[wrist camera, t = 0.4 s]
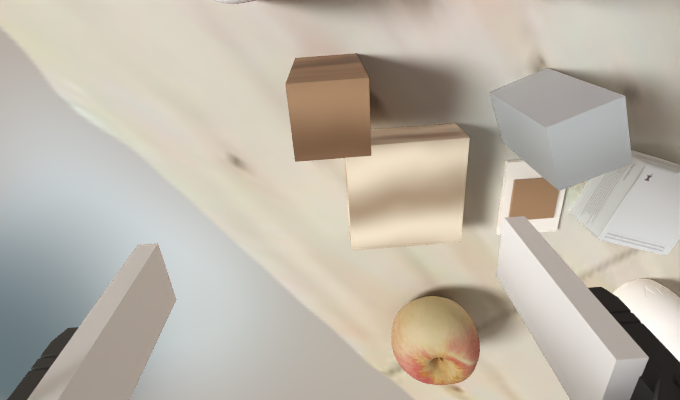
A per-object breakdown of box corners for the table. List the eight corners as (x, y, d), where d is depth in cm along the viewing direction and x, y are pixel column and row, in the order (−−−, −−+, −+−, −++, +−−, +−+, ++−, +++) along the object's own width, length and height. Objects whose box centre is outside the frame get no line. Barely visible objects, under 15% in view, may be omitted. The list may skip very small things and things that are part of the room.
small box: (565, 212, 41) (595, 240, 37) (609, 141, 38) (648, 162, 33) (630, 229, 42) (667, 258, 38) (678, 162, 39) (725, 185, 34)
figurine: (588, 322, 48) (664, 417, 38) (620, 272, 45) (712, 360, 34) (642, 329, 49) (730, 423, 38) (677, 279, 46) (785, 368, 35)
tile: (505, 160, 38) (509, 163, 37) (569, 155, 38) (574, 158, 37) (496, 232, 42) (499, 237, 41) (554, 228, 42) (558, 232, 41)
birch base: (343, 131, 36) (345, 147, 33) (455, 123, 36) (469, 137, 33) (349, 227, 41) (352, 250, 37) (448, 219, 41) (460, 241, 37)
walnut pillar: (295, 58, 33) (285, 83, 24) (356, 53, 33) (368, 77, 24) (302, 118, 35) (295, 161, 27) (359, 113, 35) (371, 155, 27)
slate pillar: (489, 92, 35) (545, 127, 26) (546, 67, 34) (625, 95, 25) (502, 142, 37) (558, 190, 28) (556, 120, 36) (632, 163, 28)
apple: (466, 331, 48) (491, 390, 41) (392, 344, 49) (404, 405, 42) (461, 274, 44) (487, 329, 37) (380, 289, 45) (391, 346, 38)
